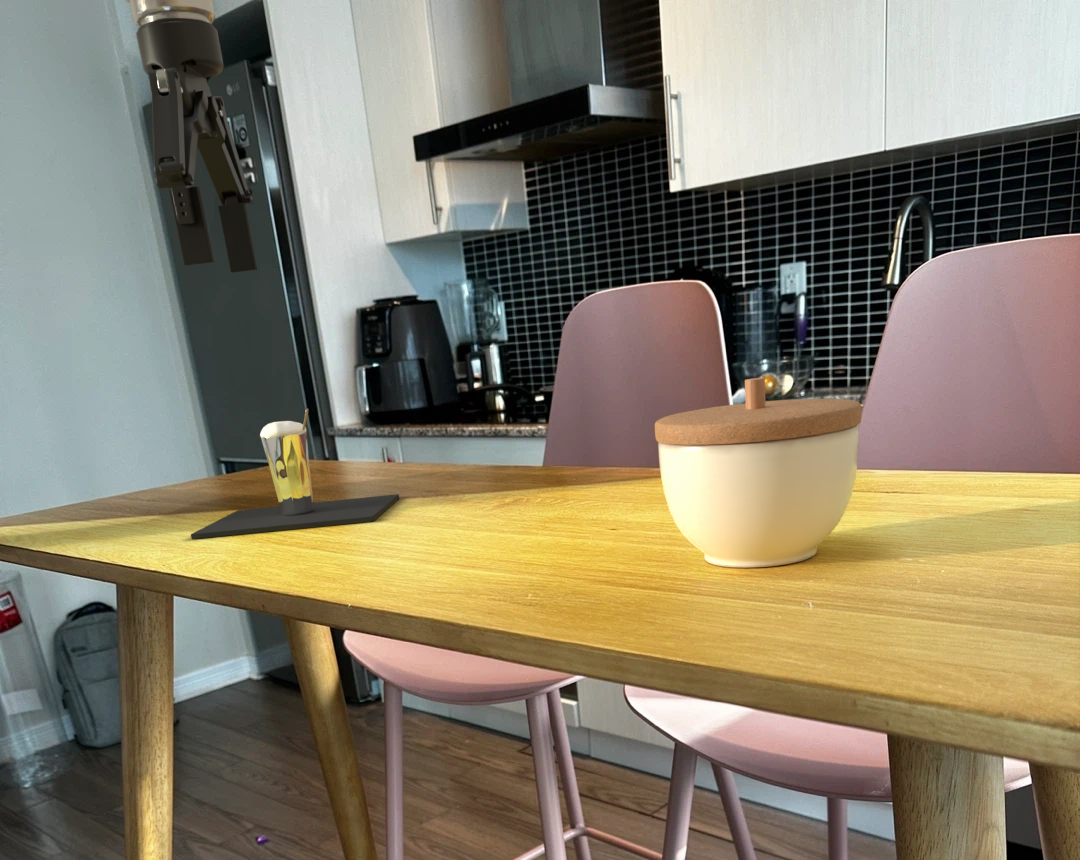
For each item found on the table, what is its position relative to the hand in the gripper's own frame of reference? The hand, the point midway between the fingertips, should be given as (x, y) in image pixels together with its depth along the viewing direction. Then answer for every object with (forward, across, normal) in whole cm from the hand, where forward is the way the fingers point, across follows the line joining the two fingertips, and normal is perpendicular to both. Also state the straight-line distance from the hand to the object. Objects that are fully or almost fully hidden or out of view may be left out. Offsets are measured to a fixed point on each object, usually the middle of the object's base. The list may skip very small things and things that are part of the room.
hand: (223, 268), depth 105 cm
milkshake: (+24, +9, +6) cm, 27 cm away
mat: (+25, +9, +6) cm, 27 cm away
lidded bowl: (+25, +46, +47) cm, 70 cm away
